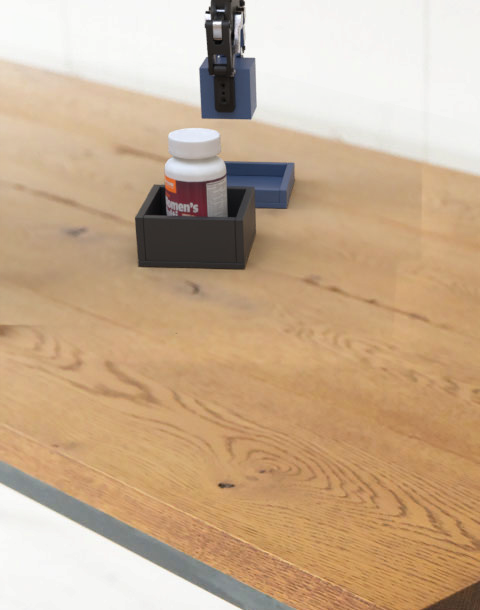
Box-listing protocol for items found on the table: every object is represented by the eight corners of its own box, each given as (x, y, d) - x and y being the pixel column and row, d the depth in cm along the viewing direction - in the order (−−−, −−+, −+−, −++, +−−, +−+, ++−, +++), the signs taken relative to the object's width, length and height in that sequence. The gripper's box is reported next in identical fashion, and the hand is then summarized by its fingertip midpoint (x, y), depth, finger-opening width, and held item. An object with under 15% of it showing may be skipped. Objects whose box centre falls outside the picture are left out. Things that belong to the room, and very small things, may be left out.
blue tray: (165, 205, 151) (164, 187, 150) (180, 177, 160) (179, 159, 159) (286, 208, 150) (286, 190, 149) (294, 179, 159) (294, 162, 158)
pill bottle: (156, 247, 137) (149, 137, 132) (191, 230, 142) (185, 122, 136) (206, 258, 134) (201, 146, 129) (240, 240, 139) (237, 131, 134)
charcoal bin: (138, 266, 134) (134, 217, 131) (156, 230, 143) (153, 184, 141) (244, 269, 134) (242, 219, 131) (256, 233, 143) (254, 186, 140)
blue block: (201, 118, 148) (199, 67, 146) (208, 106, 153) (206, 56, 150) (251, 119, 148) (249, 68, 145) (256, 106, 153) (255, 57, 150)
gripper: (197, -67, 148) (204, 88, 156) (176, -47, 136) (185, 120, 144) (265, -66, 148) (269, 89, 156) (250, -46, 136) (255, 122, 144)
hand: (228, 103), depth 150 cm, fingers closed on blue block, 5 cm apart
